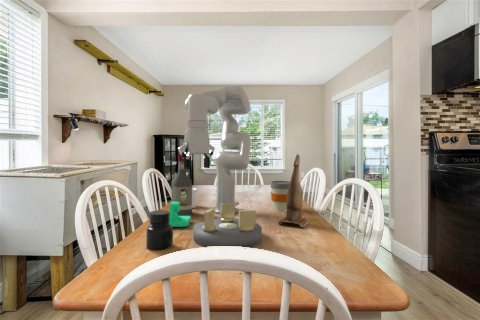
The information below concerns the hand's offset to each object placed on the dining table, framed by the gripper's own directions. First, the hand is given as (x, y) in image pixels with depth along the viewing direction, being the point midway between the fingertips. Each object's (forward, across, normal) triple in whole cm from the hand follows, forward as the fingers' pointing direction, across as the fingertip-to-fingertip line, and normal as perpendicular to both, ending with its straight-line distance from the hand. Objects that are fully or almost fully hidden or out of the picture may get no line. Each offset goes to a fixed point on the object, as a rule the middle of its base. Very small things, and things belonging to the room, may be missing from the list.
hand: (197, 168), depth 120 cm
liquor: (+26, -12, -29) cm, 41 cm away
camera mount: (+26, 0, -13) cm, 29 cm away
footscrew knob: (+22, -10, +8) cm, 25 cm away
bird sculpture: (+26, -39, +20) cm, 51 cm away
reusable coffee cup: (+26, -58, -1) cm, 64 cm away
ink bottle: (+26, +20, +5) cm, 33 cm away
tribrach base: (+26, -4, +14) cm, 30 cm away
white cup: (+26, -24, -39) cm, 53 cm away
